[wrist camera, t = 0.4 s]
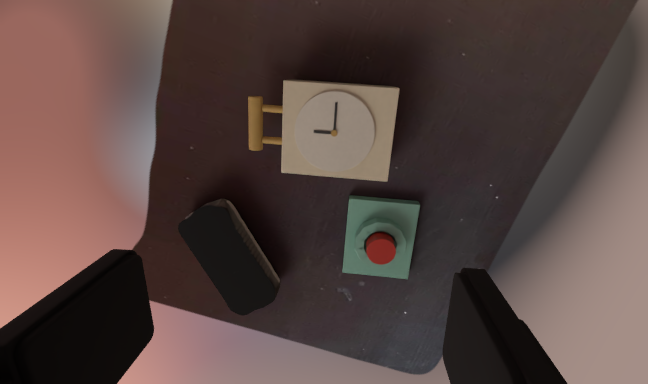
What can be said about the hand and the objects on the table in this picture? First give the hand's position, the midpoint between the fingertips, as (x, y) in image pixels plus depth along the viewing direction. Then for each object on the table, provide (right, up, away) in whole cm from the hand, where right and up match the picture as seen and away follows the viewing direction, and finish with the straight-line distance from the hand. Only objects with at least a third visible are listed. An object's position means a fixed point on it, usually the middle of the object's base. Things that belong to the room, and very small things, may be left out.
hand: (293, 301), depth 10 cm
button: (+8, -4, +34) cm, 35 cm away
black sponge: (-12, -5, +39) cm, 42 cm away
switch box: (+8, -3, +37) cm, 38 cm away
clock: (+1, +12, +32) cm, 34 cm away
